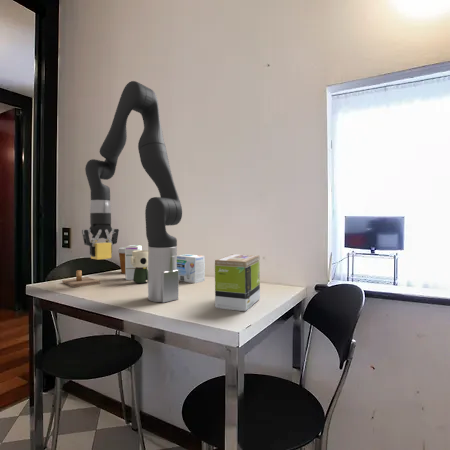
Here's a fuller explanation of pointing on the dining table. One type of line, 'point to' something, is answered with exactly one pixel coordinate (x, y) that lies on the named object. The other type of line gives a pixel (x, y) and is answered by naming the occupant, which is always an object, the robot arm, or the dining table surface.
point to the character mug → (140, 265)
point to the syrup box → (128, 267)
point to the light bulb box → (191, 268)
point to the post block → (80, 280)
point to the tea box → (237, 282)
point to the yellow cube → (102, 251)
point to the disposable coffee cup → (122, 259)
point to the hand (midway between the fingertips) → (101, 255)
